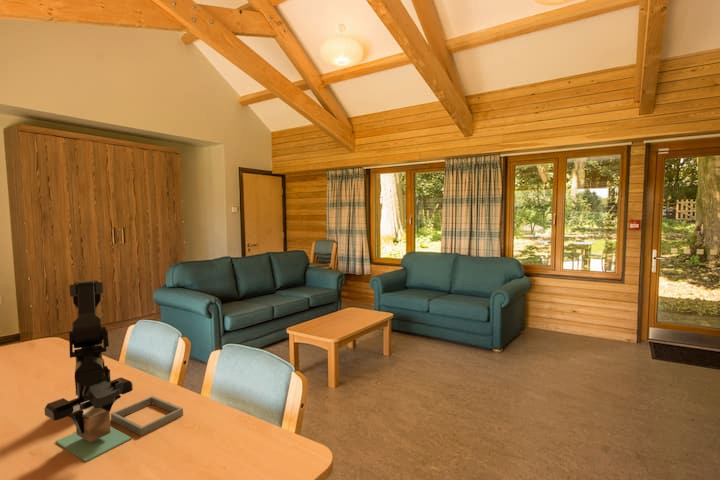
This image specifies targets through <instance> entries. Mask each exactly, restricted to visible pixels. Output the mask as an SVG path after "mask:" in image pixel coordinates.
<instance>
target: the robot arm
mask: <svg viewBox="0 0 720 480" xmlns="http://www.w3.org/2000/svg"><path fill="white" fill-rule="evenodd" d="M68 287H69V289H68V290H69V298H71V299H72V304H74V306H75V307H76V308H77V318H76V319H75V320H73V322H72V329H71V330H70V331H69V332H68V334H69V335H68V336H69V340H68V341H69V358H70V359H71V358H75V365H74V366H75V368H74V383H75V384H74V386H75V396H77V398H73V399H70V400H67V399H65V398H64V397H63V398H60V399H57V400H53V401H51V402H49V403H47V404H46V406H45V407H44V409H43V410H44V416H46V417H47V418H49V419H51V420H52V421H59V420H62V419H64V418H67V417H68V418H70V419H71V420H72V422H73V423H74V425H75V428H76V427H77V428H78V430H79V432H80V433H81V434H83V433H84V425H83V418H82V415H83V412H84V411H82V410H84V409H86V408H89V407H91V406H93V407H94V408H101V407H102V408H104V409H106V410H108V411H109V413H110V412H111V410H112V407H113V404H114V403H116V401H117V400H118V399H121V397H122V396H121V395H125V394H128V393H131V392H132V391H133V388H134V386H133V382H132V381H131V380H129V379H126V378H123V377H119V378H116V379H112V380H111V369H109V367H108V365H105V359H104V358H103V353H105V352H107V348H108V347H109V346H110V344H109V332H108V329H107V328H106V326H105V325H104V326H102V318H101V317H99V316H98V315H97V314H96V309H97V307H98V306H99V305H100V303H101V301H102V300H101V297H102V296H101V295H104V282H101V281H99V280H98V279H94V280H84V281H74V284H69V285H68ZM102 344H103V345H102ZM110 414H111V413H110Z"/></svg>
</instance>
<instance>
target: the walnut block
mask: <svg viewBox="0 0 720 480" xmlns="http://www.w3.org/2000/svg"><path fill="white" fill-rule="evenodd" d="M81 410H82V411H84V412H83V415H82V418H83V425H84V433H83V434H81V433H80V432H79V430H78V428H77V427H76V426H75V428H76V429H75V430H76V431H75V432H76V433H77V435H78V436H80V437H82V438H83V439H85V440H87V441H88V442H92V441H94V440H96V439H98V438H101V437H103V436H105V435H107V434H109V433H111V431H110V427H111V413H109V411H108V410H106V409H104V408H102V407H101V408H94V407H93V406H91V407H89V408H86V409H81Z"/></svg>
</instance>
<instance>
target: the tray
mask: <svg viewBox="0 0 720 480" xmlns="http://www.w3.org/2000/svg"><path fill="white" fill-rule="evenodd" d="M149 405H155V406H156V407H159V408H161V409H163V410H166V411H168V412H169V413H168V414H166V415H163V416H161V417H160V418H158V419H155V420H154V421H151V422H149V423H147V424H145V425H143V426H142V425H140V424H138V423H136V422H134V421H132V420H129V419H128V418H126V417H125V416H128V415H129V414H131V413H132V414H133V413H134V412H136V411H138V410H141V409H143V408H145V407H148V406H149ZM182 416H184V408H183V407H180V406H178V405H175V404H173V403H171V402H168V401H166V400H164V399H162V398H159V397H157V396H154V395H151V396H148V397H147V398H144V399H142V400H140V401H138V402H134V403H133V404H130V405H128V406H126V407H124V408H121V409H118V410H117V411H113V412H111V413H110V421H111V422H114V423H116V424H117V425H120V426H122V427H124V429H125V428H126V429H127V430H129V431H131V432H133V433H135V434H137V435H138V436H141V437H142V436H144V435H146V434H149V433H150V432H152V431H154V430H157V429H158V428H160V427H162V426H165V425H166V424H168V423H170V422H172V421H174V420H176V419H178V418H180V417H182Z"/></svg>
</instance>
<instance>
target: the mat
mask: <svg viewBox="0 0 720 480" xmlns="http://www.w3.org/2000/svg"><path fill="white" fill-rule="evenodd" d="M110 431H111V433H109V434H107V435H105V436H103V437H101V438H98V439H96V440H94V441H92V442H88V441H87V440H85V439H83V438H82V437H80V436H78V435H77V433H76V431H75V432H73V433H71V434H68V435H66V436H63V437H62V438H58V439H57V440H55V443H56V444H57V445H59V446H61V447H62V448H64V449H66V450H67V451H69V452H70V453H71V454H73V455H75V456H76V457H78V458H79V459H81V460H82V461H83V462H84V463H87V462H89V461H91V460H93V459H94V458H97V457H99V456H101V455H103V454H104V453H107V452H109V451H112V450H113V449H114V448H116V447H119V446H120V445H121V446H122V445H123V444H125V443H127V442H129V441H131V440H132V437H131V436H130V435H127V434H126V433H124V432H122V431H120V430H118V429H116V428H114V427H112V426H110Z"/></svg>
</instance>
